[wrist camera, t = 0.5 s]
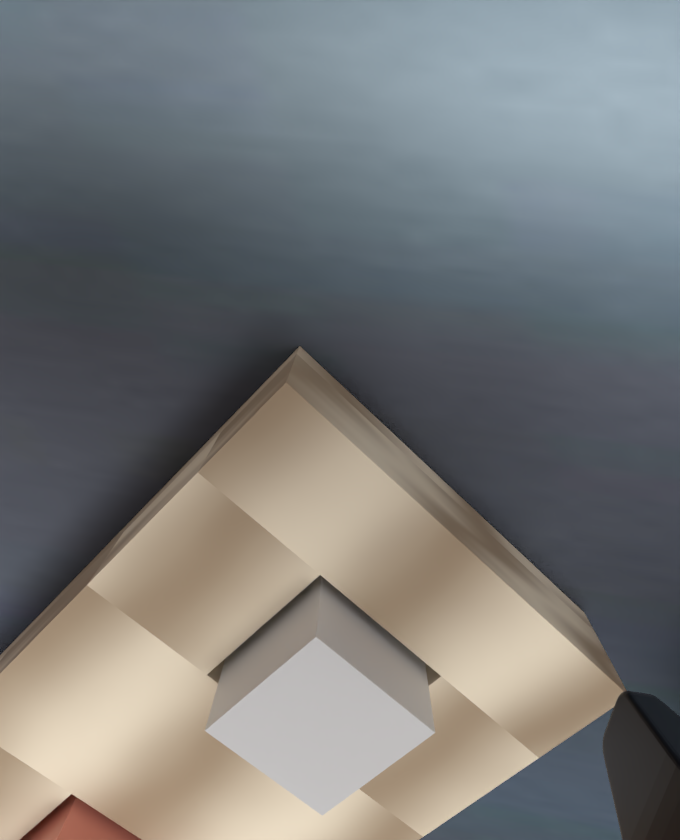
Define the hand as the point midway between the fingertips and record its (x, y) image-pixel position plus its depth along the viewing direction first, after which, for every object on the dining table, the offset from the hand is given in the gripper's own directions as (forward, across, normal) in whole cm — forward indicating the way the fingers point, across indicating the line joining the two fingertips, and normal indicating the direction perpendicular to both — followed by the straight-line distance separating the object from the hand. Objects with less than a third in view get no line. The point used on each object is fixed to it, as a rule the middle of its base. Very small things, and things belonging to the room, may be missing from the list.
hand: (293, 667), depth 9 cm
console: (+12, +3, +12) cm, 17 cm away
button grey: (+10, -1, +7) cm, 12 cm away
